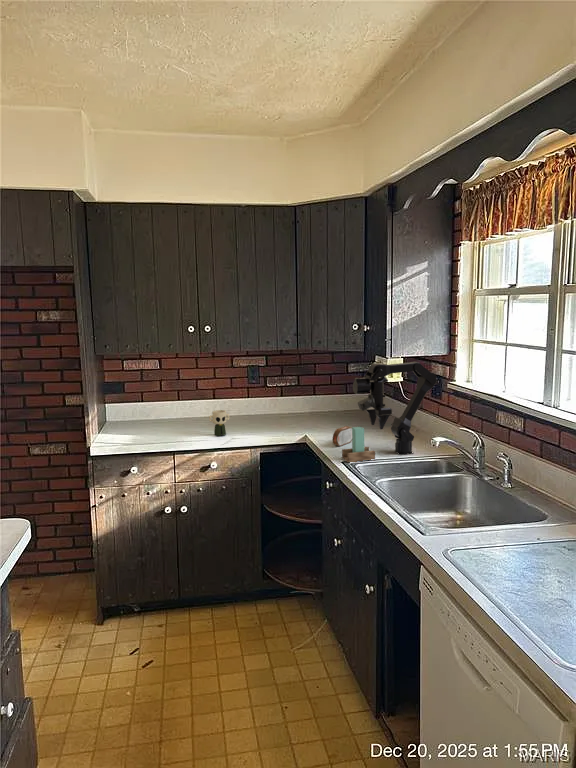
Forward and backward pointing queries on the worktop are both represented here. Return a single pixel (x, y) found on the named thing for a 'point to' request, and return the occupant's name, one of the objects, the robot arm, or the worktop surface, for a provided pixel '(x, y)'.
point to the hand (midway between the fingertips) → (377, 427)
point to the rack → (357, 455)
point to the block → (357, 439)
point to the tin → (342, 436)
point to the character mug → (219, 421)
